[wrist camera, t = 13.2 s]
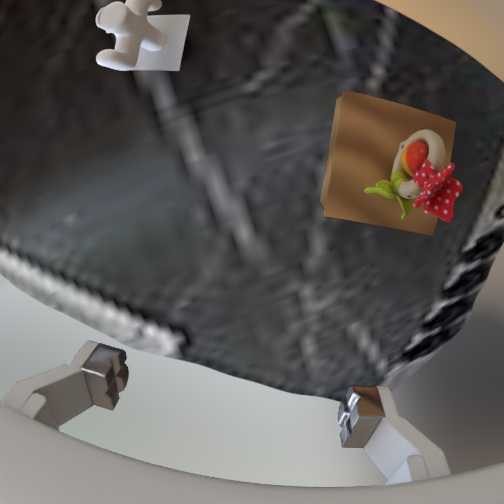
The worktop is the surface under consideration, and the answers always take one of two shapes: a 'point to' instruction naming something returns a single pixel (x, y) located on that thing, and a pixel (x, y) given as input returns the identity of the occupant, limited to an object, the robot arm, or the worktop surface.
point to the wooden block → (375, 160)
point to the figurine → (142, 36)
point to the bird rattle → (422, 177)
